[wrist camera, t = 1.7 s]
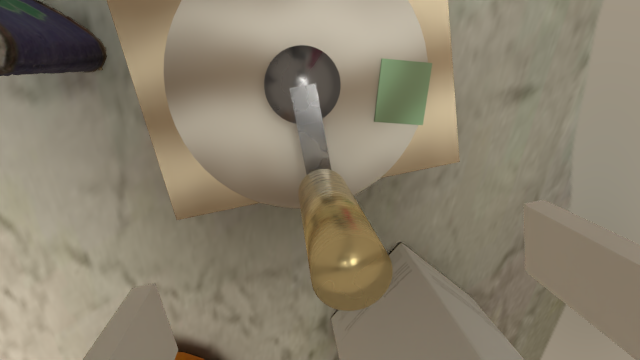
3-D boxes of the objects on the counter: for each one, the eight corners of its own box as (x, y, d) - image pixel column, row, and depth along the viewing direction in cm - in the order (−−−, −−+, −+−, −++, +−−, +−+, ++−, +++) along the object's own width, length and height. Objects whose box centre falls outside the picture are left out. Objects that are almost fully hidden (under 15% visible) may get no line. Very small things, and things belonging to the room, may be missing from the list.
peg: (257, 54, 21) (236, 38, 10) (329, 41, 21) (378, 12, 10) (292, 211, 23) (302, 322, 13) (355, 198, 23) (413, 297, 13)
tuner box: (127, -16, 23) (93, -35, 19) (415, -66, 24) (443, -95, 20) (195, 211, 27) (180, 236, 23) (435, 162, 28) (462, 177, 24)
